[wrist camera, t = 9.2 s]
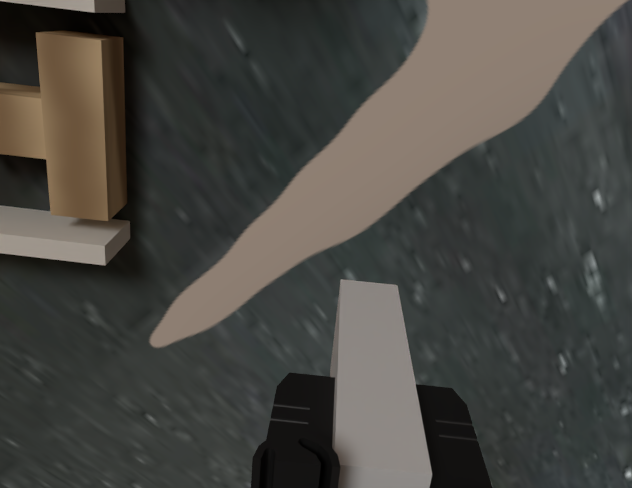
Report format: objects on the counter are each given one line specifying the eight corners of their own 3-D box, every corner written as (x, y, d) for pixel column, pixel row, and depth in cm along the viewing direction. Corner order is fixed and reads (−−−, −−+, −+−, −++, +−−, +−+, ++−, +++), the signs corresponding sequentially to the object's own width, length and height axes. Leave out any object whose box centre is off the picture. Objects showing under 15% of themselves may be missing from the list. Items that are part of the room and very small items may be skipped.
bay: (124, -12, 36) (93, -16, 31) (130, 238, 43) (105, 265, 38) (-104, -40, 36) (-169, -48, 31) (-61, 216, 43) (-108, 240, 38)
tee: (123, 37, 37) (100, 40, 34) (127, 202, 42) (108, 221, 38) (-25, 19, 37) (-64, 20, 33) (-4, 188, 42) (-36, 205, 38)
